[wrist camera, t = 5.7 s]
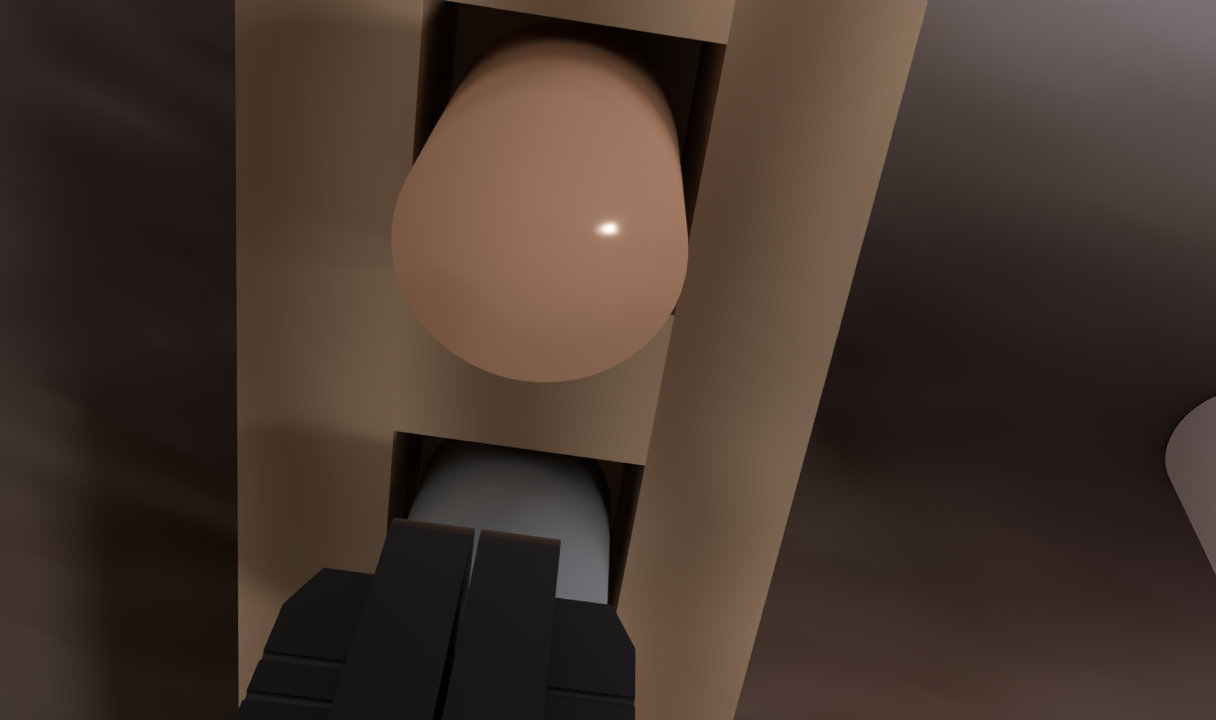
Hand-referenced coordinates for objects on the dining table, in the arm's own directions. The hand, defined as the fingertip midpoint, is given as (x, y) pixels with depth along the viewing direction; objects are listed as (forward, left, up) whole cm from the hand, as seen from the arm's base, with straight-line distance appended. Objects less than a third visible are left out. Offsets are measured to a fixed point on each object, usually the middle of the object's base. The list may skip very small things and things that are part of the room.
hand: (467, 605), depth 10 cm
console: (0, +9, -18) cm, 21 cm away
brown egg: (0, 0, -14) cm, 14 cm away
